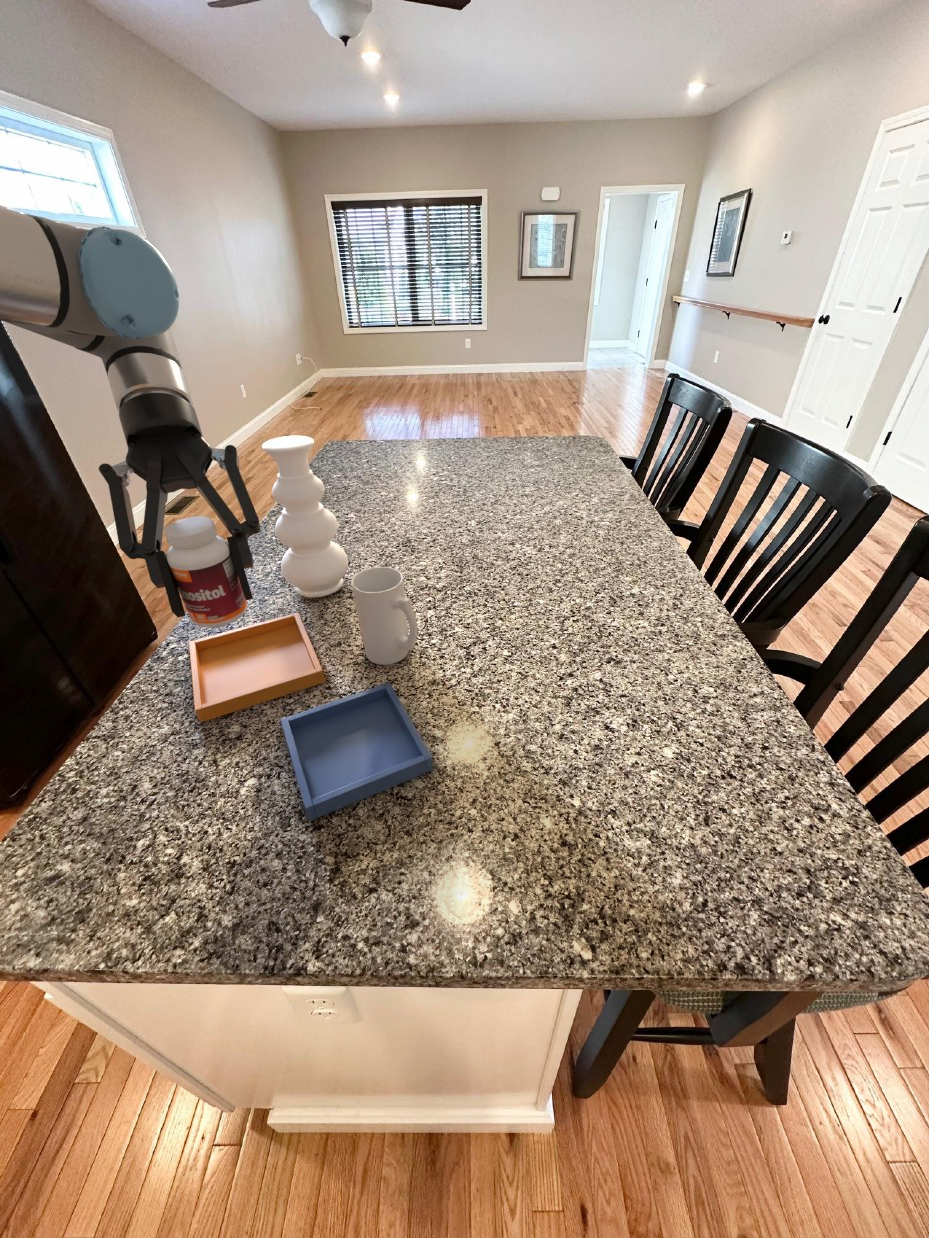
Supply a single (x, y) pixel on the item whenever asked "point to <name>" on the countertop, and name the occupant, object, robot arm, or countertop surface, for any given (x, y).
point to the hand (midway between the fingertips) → (214, 604)
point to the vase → (305, 521)
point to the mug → (384, 614)
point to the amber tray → (252, 666)
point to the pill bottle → (204, 572)
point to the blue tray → (353, 749)
